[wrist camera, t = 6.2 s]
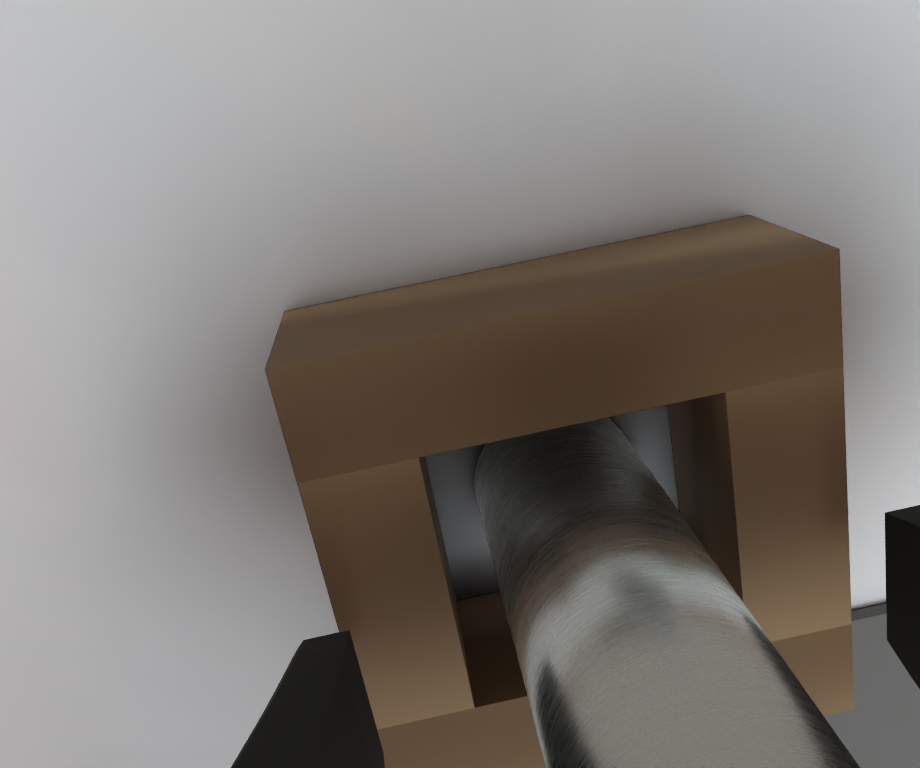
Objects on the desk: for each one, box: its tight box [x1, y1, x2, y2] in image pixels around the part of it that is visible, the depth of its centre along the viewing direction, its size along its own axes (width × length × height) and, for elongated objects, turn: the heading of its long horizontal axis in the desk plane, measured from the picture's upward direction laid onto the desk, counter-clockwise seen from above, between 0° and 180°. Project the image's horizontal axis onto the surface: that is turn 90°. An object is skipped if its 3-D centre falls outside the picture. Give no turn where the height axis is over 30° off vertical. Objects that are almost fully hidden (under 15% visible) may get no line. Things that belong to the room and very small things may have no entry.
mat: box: [824, 603, 920, 768], centre depth 19 cm, size 7×8×1 cm
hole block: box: [265, 215, 854, 768], centre depth 15 cm, size 8×8×3 cm
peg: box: [474, 417, 860, 768], centre depth 12 cm, size 3×3×9 cm
